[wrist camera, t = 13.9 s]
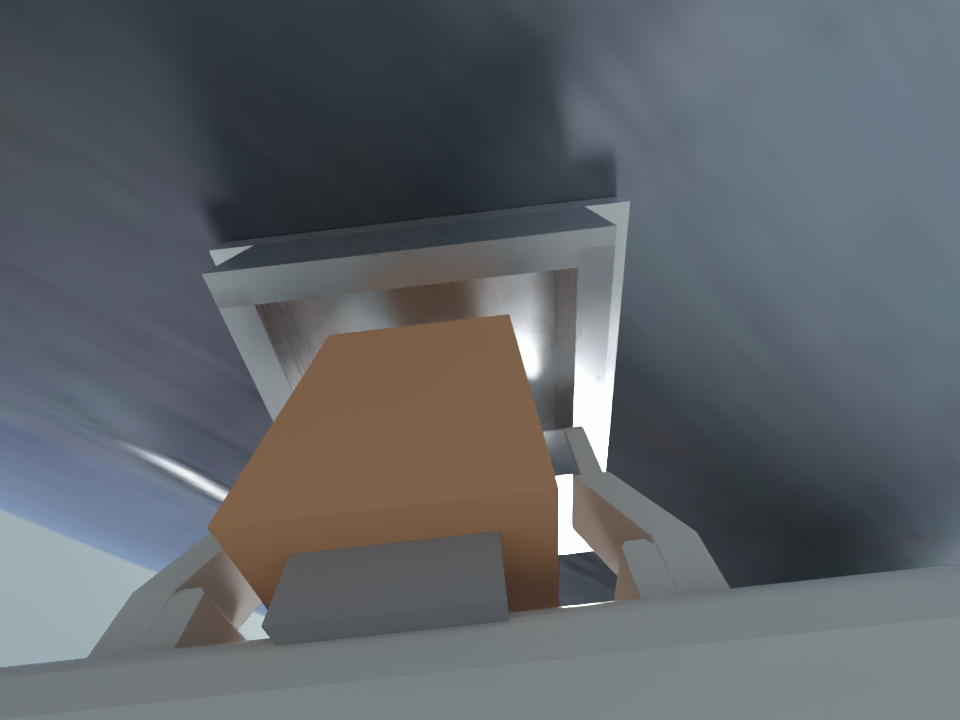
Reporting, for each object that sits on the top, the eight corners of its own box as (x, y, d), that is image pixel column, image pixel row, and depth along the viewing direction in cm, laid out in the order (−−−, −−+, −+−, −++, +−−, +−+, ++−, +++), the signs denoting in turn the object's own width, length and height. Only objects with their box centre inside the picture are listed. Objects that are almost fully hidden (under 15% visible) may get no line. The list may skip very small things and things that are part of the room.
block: (509, 314, 11) (577, 555, 5) (520, 469, 14) (569, 735, 8) (328, 334, 11) (160, 601, 5) (379, 484, 14) (319, 762, 8)
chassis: (592, 532, 23) (692, 830, 13) (363, 556, 24) (293, 869, 14) (617, 196, 14) (1046, 367, 4) (227, 241, 14) (-370, 525, 4)
